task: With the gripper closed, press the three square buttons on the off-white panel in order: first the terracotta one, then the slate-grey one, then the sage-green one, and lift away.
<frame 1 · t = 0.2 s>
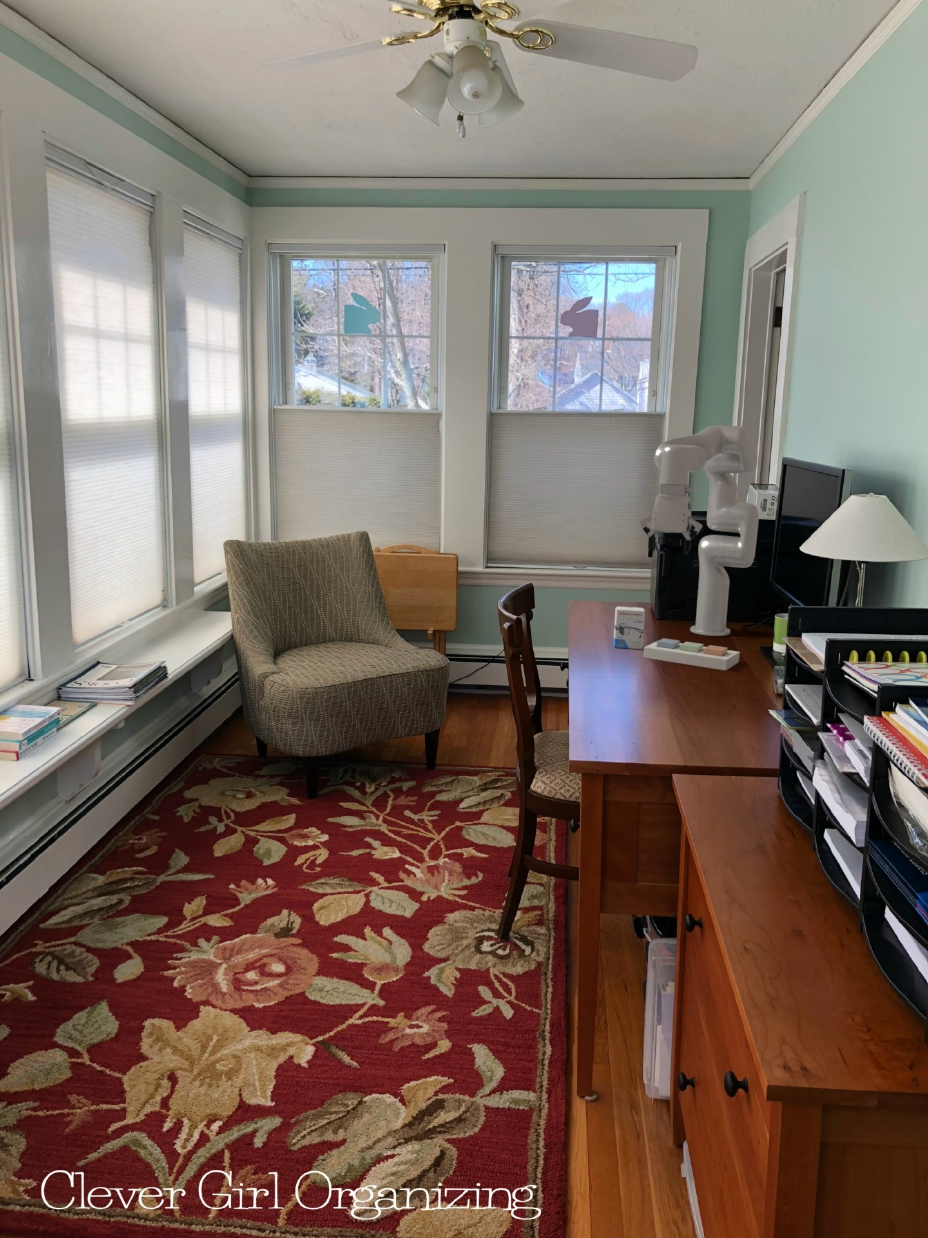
hand: (668, 552, 271), 31 cm above the table, tool pointing down, fingers open, 9 cm apart
sage button: (691, 649, 276), point 3 cm above the table, slide at 0.0 cm
button panel: (690, 659, 277), on the table
slate button: (668, 645, 280), point 3 cm above the table, slide at 0.0 cm
ink box: (627, 647, 291), on the table
terracotta button: (715, 652, 272), point 3 cm above the table, slide at 0.0 cm
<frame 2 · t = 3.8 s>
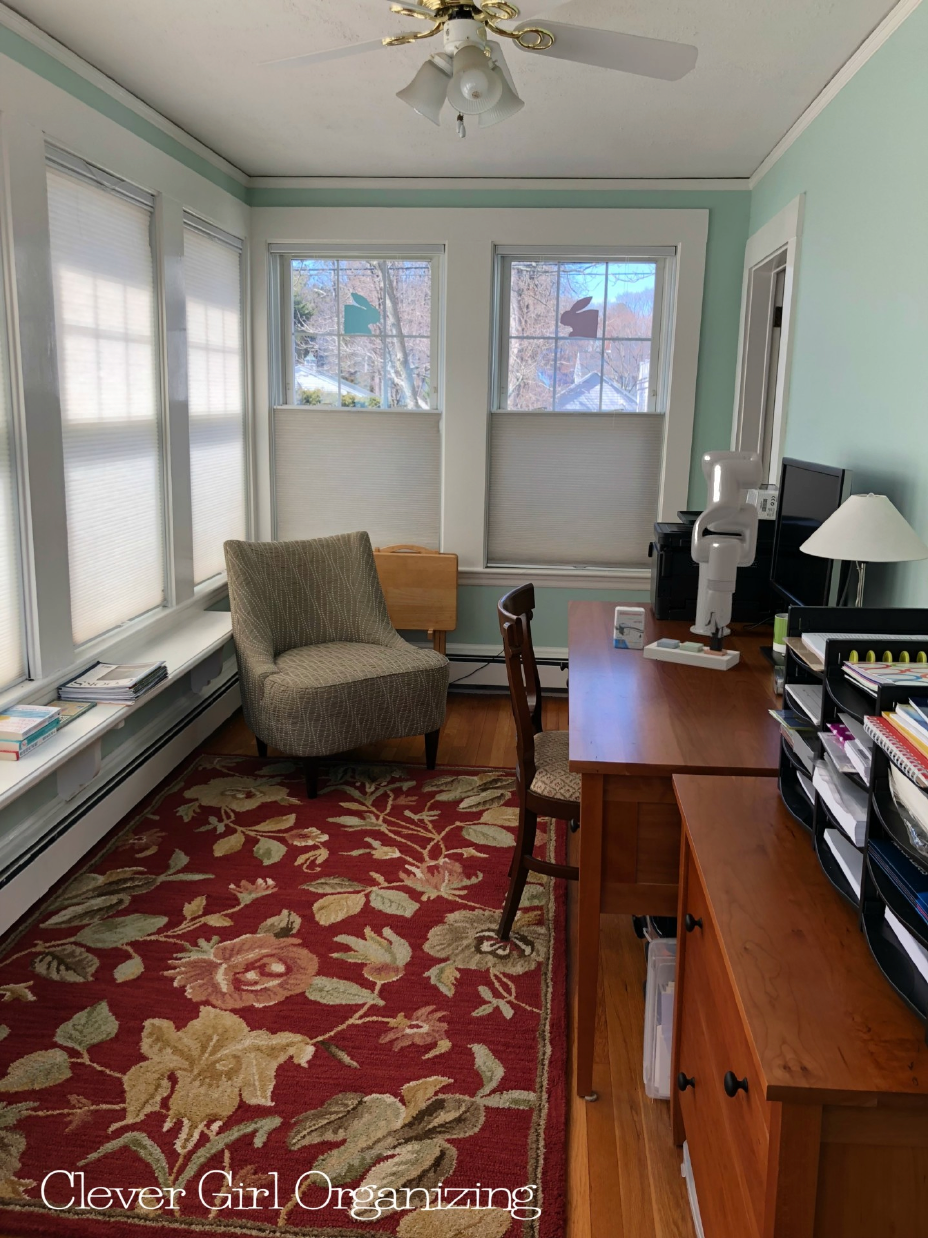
hand: (715, 650, 272), 4 cm above the table, tool pointing down, fingers closed
terracotta button: (715, 655, 273), point 2 cm above the table, slide at 0.7 cm
everything else where it was.
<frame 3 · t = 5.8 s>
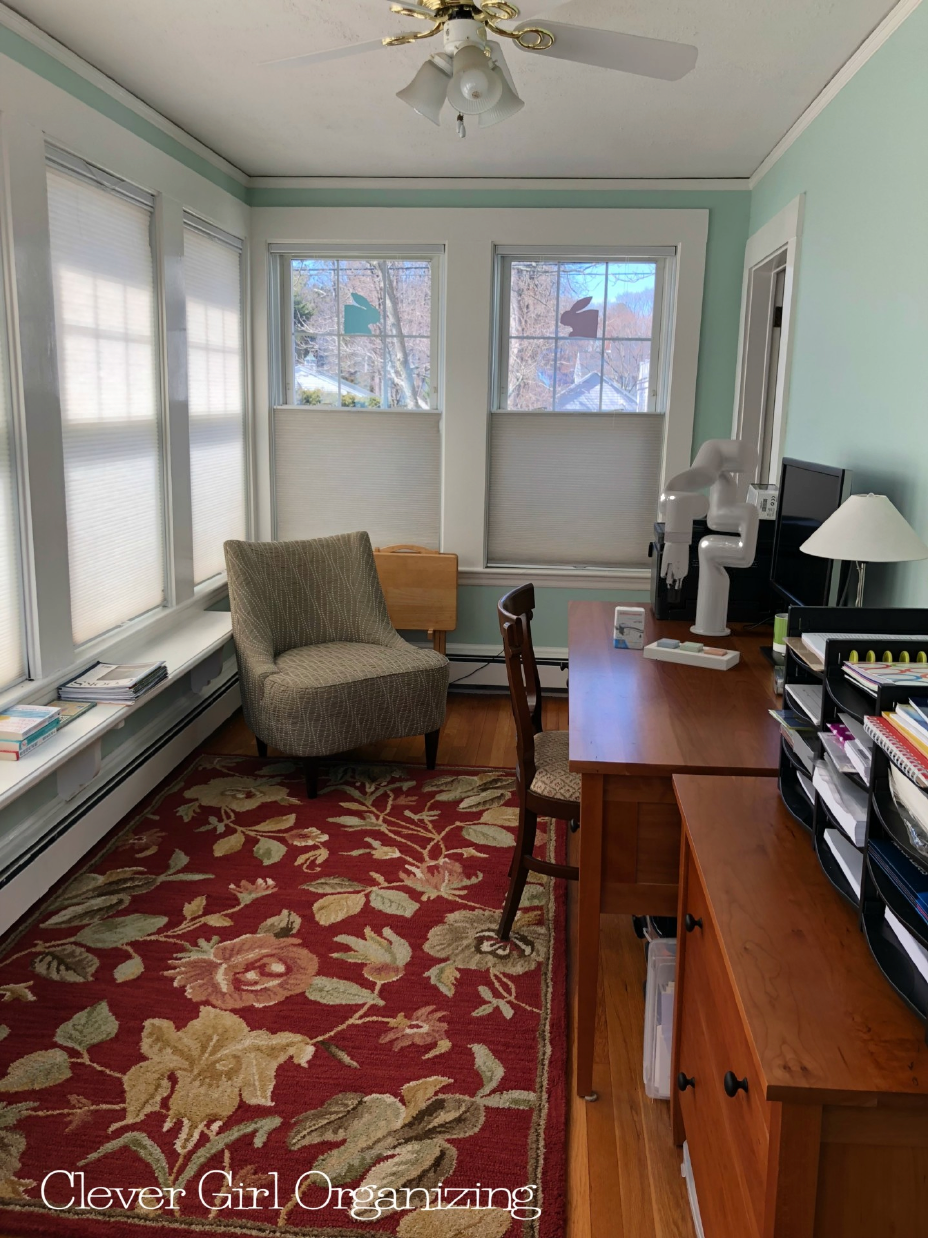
hand: (673, 601, 277), 16 cm above the table, tool pointing down, fingers closed
nothing on the table moved.
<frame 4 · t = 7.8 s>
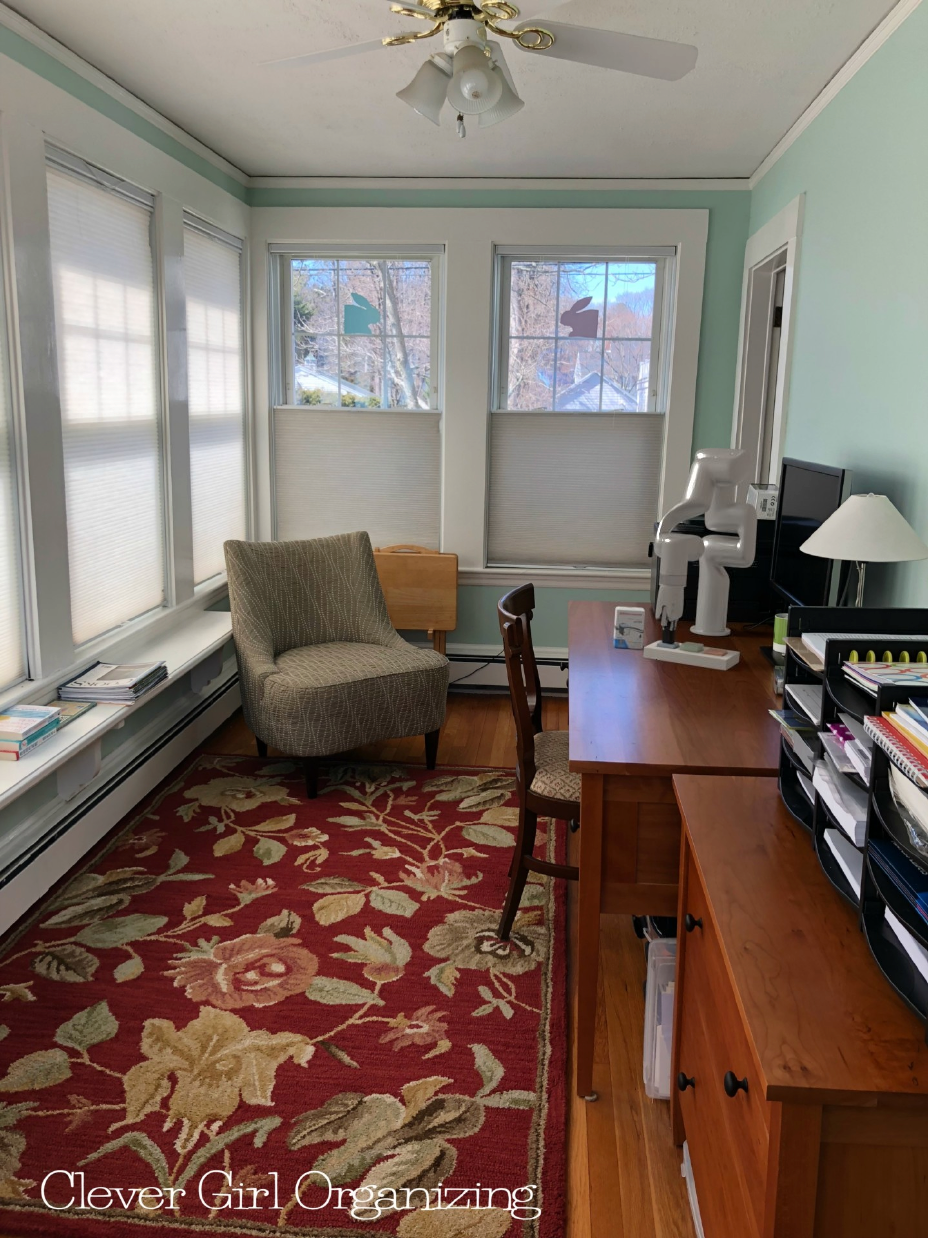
hand: (668, 643, 279), 4 cm above the table, tool pointing down, fingers closed
slate button: (668, 647, 280), point 3 cm above the table, slide at 0.6 cm, touching gripper
everything else where it was.
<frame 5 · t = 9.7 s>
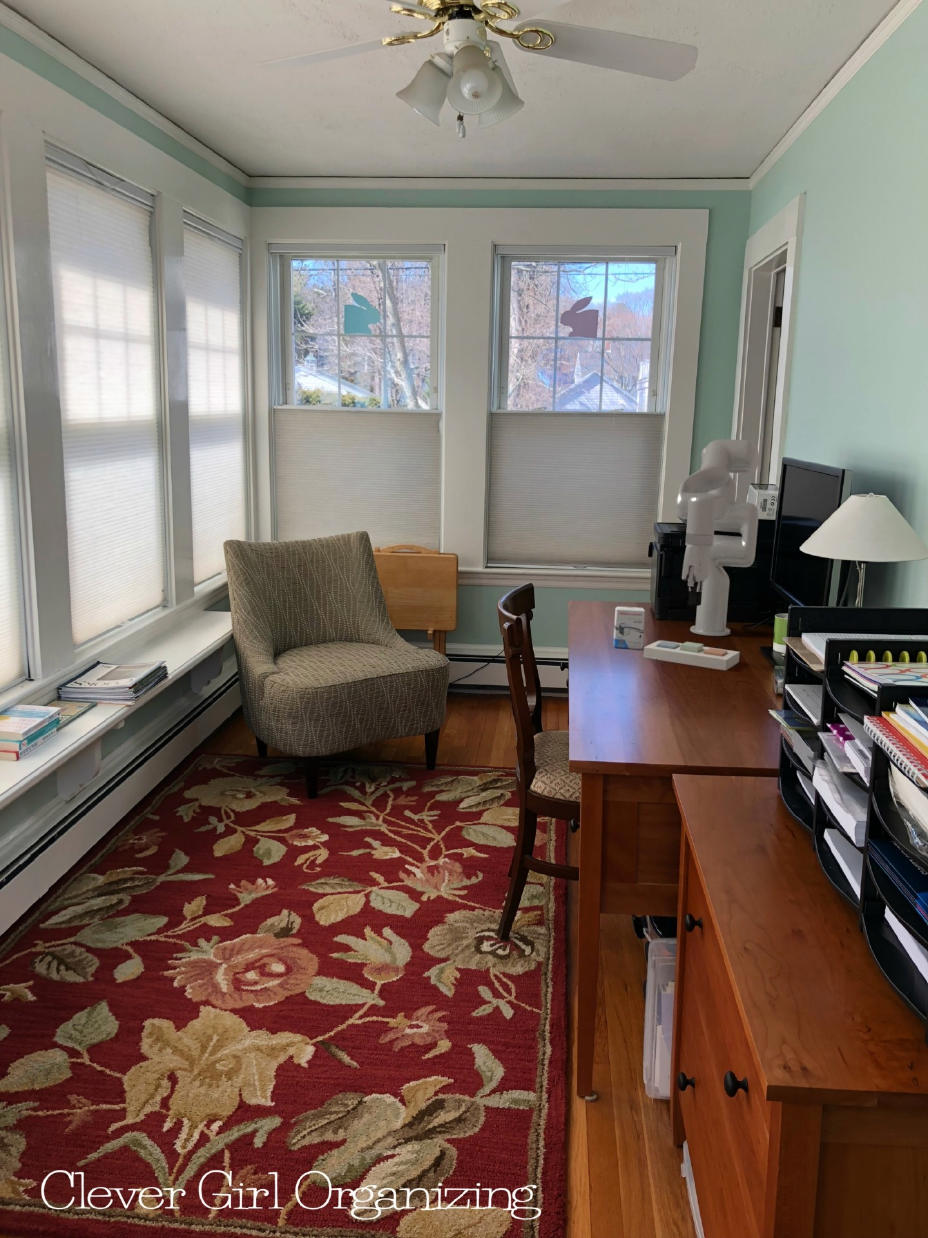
hand: (694, 604, 274), 16 cm above the table, tool pointing down, fingers closed
slate button: (668, 648, 280), point 2 cm above the table, slide at 0.9 cm
everything else where it was.
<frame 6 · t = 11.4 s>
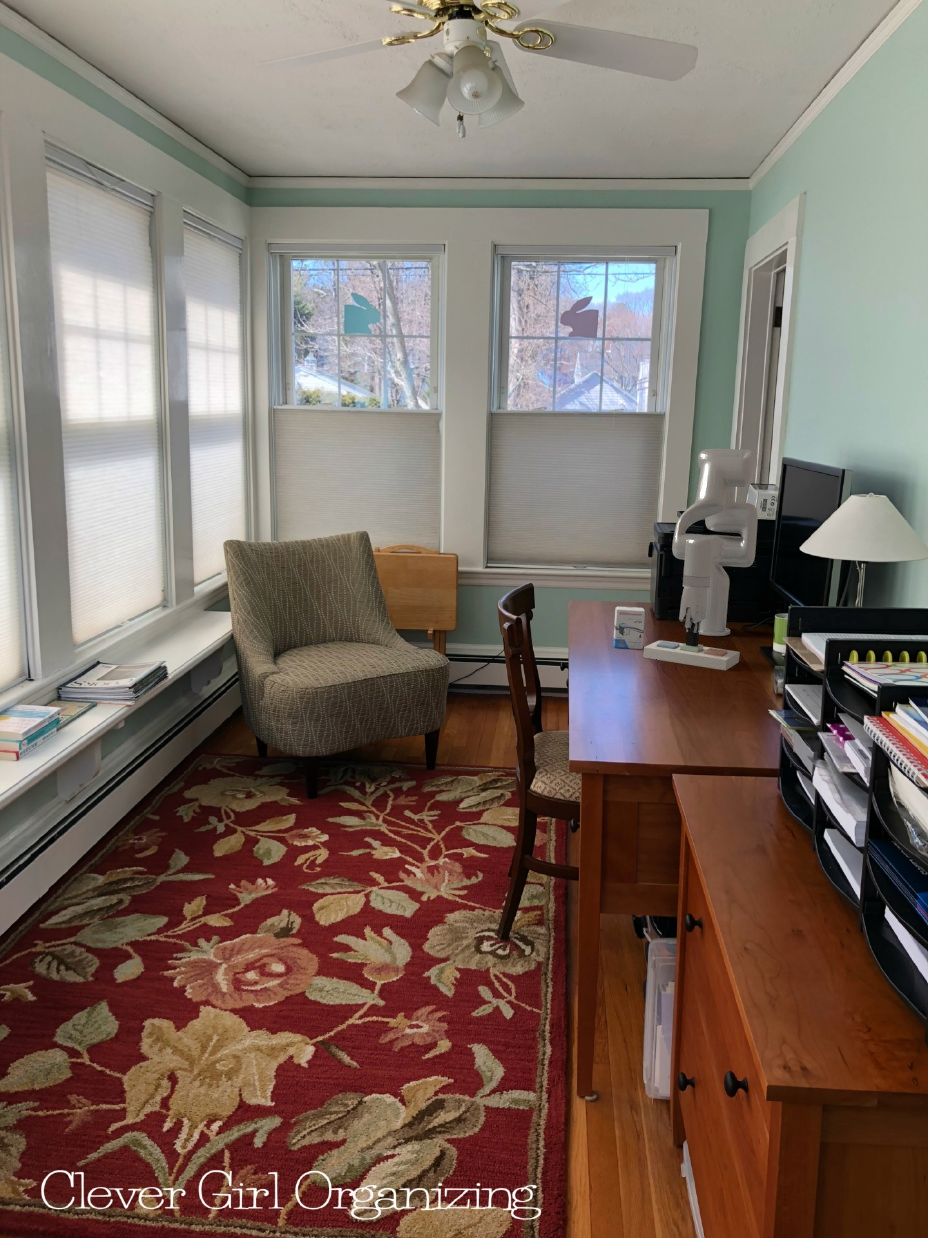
hand: (691, 645, 276), 4 cm above the table, tool pointing down, fingers closed
sage button: (691, 650, 276), point 3 cm above the table, slide at 0.3 cm, touching gripper
everything else where it was.
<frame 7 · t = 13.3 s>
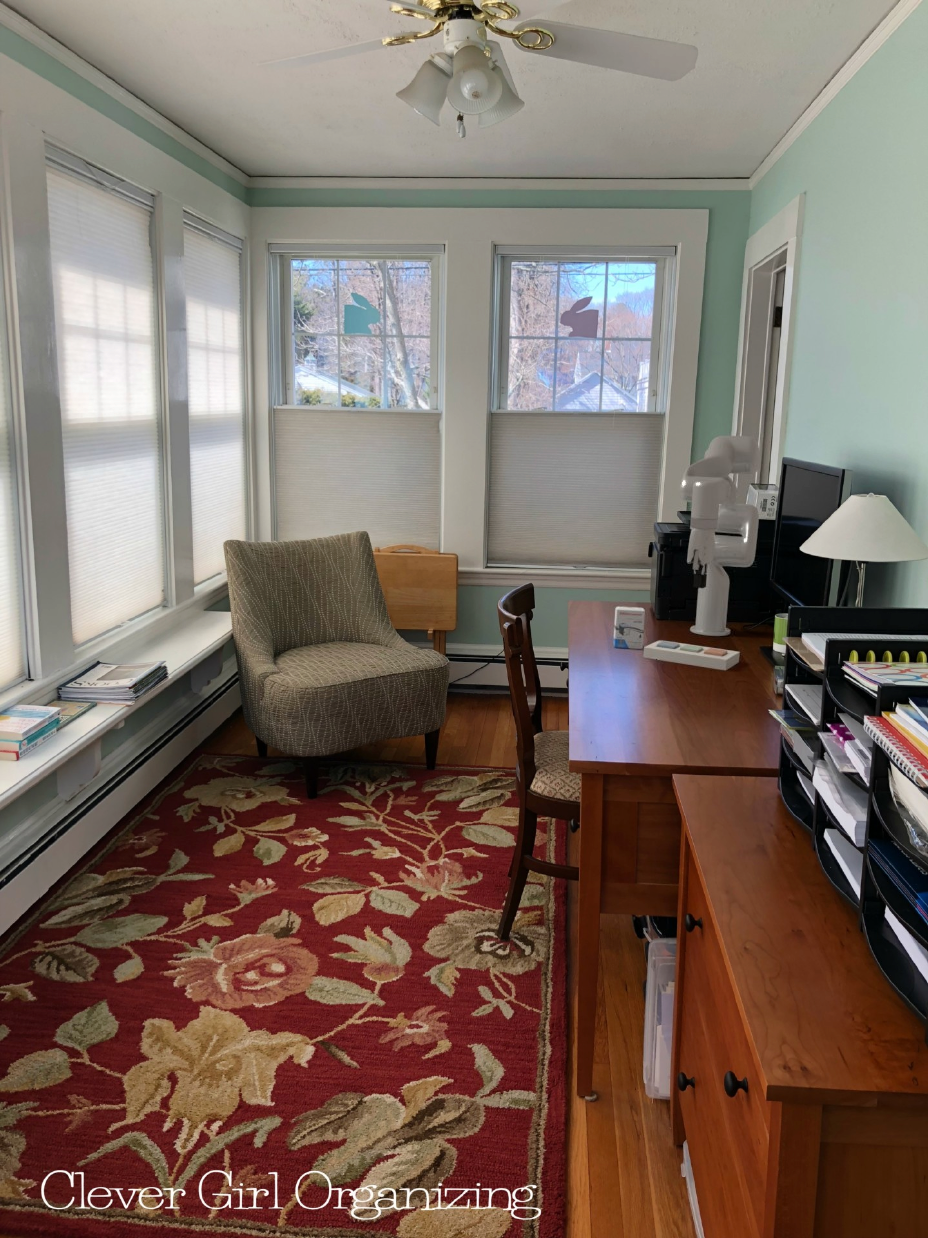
hand: (699, 587, 279), 20 cm above the table, tool pointing down, fingers closed
sage button: (691, 652, 276), point 2 cm above the table, slide at 0.9 cm
everything else where it was.
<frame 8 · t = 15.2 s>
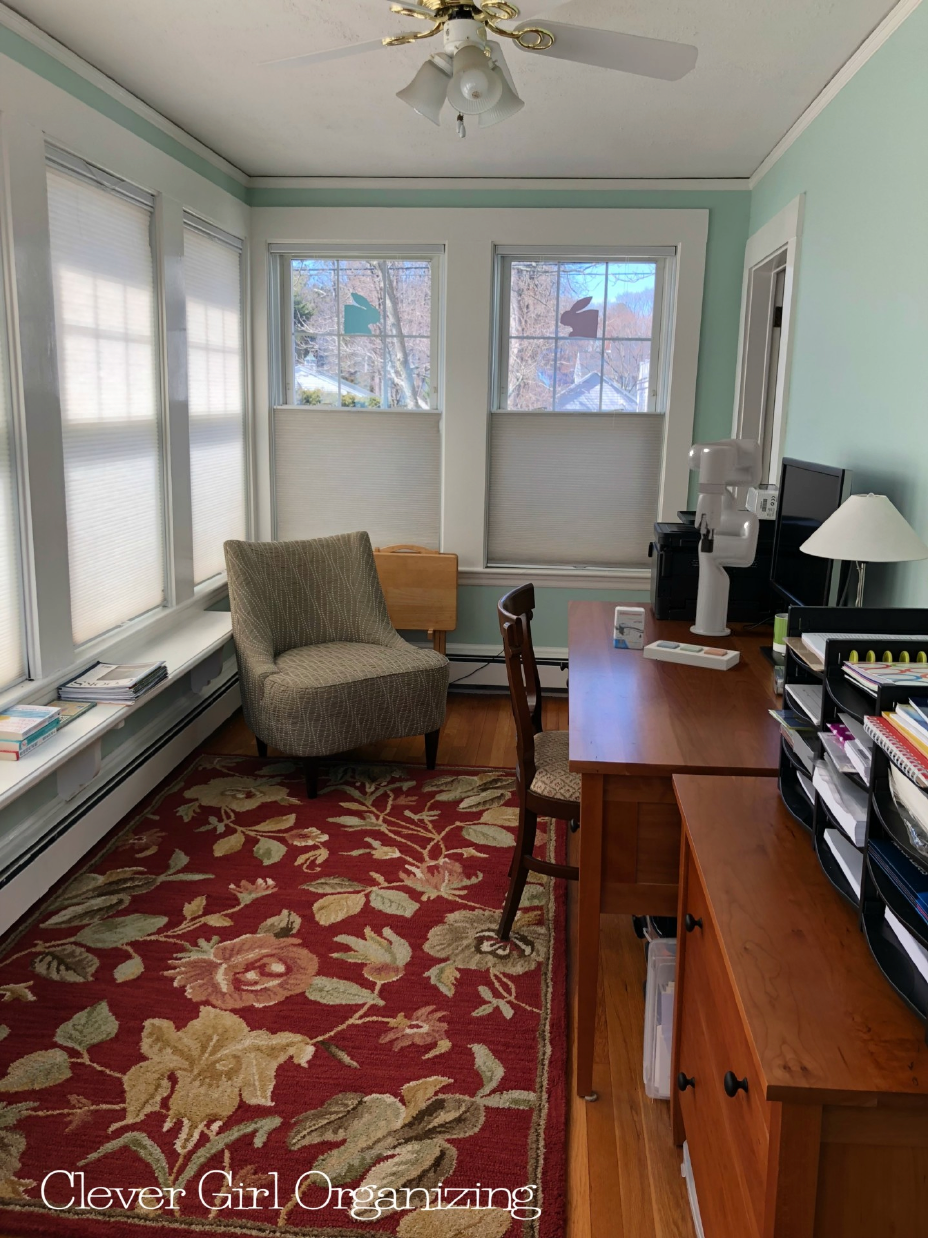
hand: (706, 552, 286), 29 cm above the table, tool pointing down, fingers closed
nothing on the table moved.
at the end: terracotta button slide at 0.9 cm; slate button slide at 0.9 cm; sage button slide at 0.9 cm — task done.
